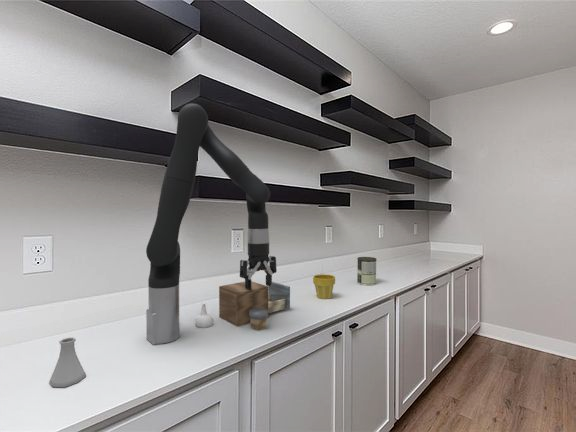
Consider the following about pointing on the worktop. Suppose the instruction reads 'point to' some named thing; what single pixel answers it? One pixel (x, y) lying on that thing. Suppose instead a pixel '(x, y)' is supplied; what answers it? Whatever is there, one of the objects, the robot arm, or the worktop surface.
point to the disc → (258, 313)
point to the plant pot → (324, 285)
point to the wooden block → (259, 324)
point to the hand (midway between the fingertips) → (258, 287)
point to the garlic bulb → (204, 318)
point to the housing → (241, 301)
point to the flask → (67, 365)
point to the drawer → (278, 297)
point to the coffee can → (366, 271)
